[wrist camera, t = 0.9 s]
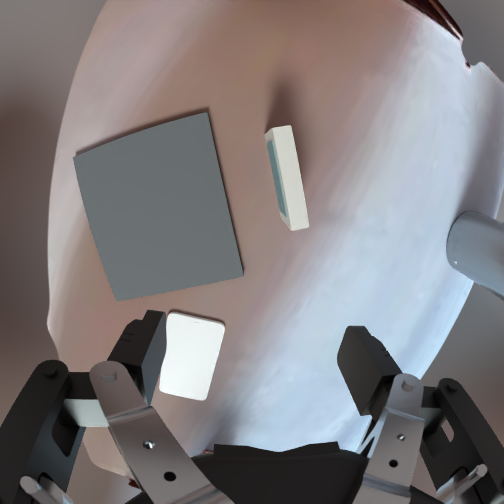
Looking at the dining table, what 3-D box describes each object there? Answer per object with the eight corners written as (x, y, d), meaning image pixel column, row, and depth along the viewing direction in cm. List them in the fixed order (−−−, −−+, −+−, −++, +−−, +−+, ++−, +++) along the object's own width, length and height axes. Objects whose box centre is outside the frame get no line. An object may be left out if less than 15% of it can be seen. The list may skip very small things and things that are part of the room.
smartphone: (158, 391, 37) (167, 311, 32) (159, 387, 37) (169, 308, 33) (205, 401, 38) (226, 324, 33) (206, 397, 38) (226, 321, 34)
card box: (279, 131, 27) (290, 125, 21) (294, 214, 30) (309, 227, 24) (263, 134, 27) (270, 128, 21) (279, 217, 30) (290, 231, 24)
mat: (207, 112, 26) (207, 111, 25) (243, 274, 32) (243, 276, 31) (75, 157, 26) (73, 157, 25) (118, 299, 32) (116, 301, 31)
